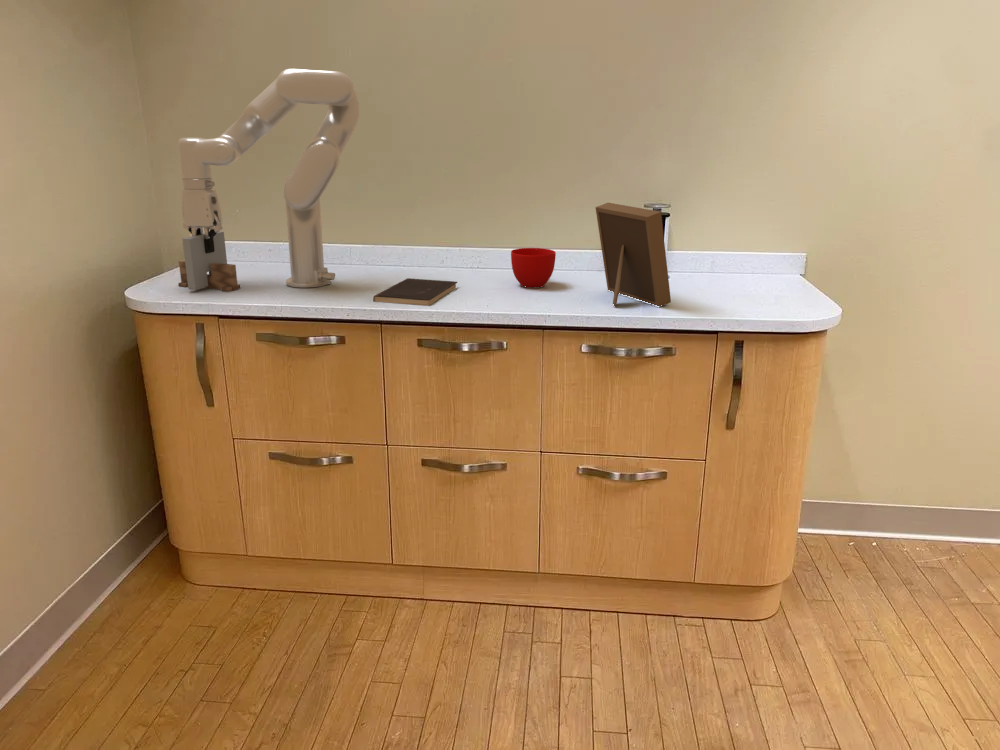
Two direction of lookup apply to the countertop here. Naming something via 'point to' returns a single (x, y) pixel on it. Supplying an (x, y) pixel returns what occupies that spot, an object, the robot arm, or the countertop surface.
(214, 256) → the gray square panel
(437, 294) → the hardcover book
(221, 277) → the walnut slotted plate
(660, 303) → the photo frame
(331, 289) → the countertop surface
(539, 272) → the ceramic cup
